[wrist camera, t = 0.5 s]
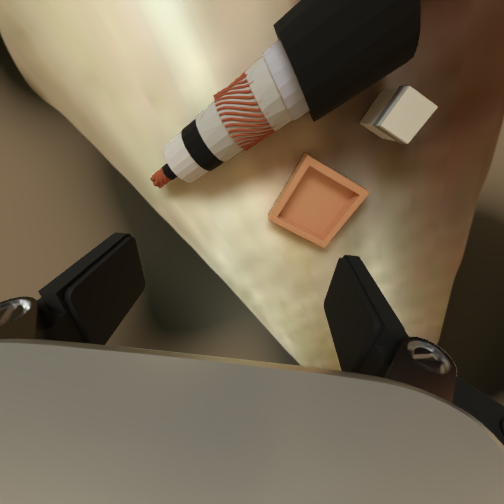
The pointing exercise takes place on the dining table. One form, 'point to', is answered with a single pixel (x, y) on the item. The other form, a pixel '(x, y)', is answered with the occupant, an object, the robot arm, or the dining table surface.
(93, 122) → the dining table surface
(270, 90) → the striped tapered cylinder
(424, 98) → the block
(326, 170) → the dish
